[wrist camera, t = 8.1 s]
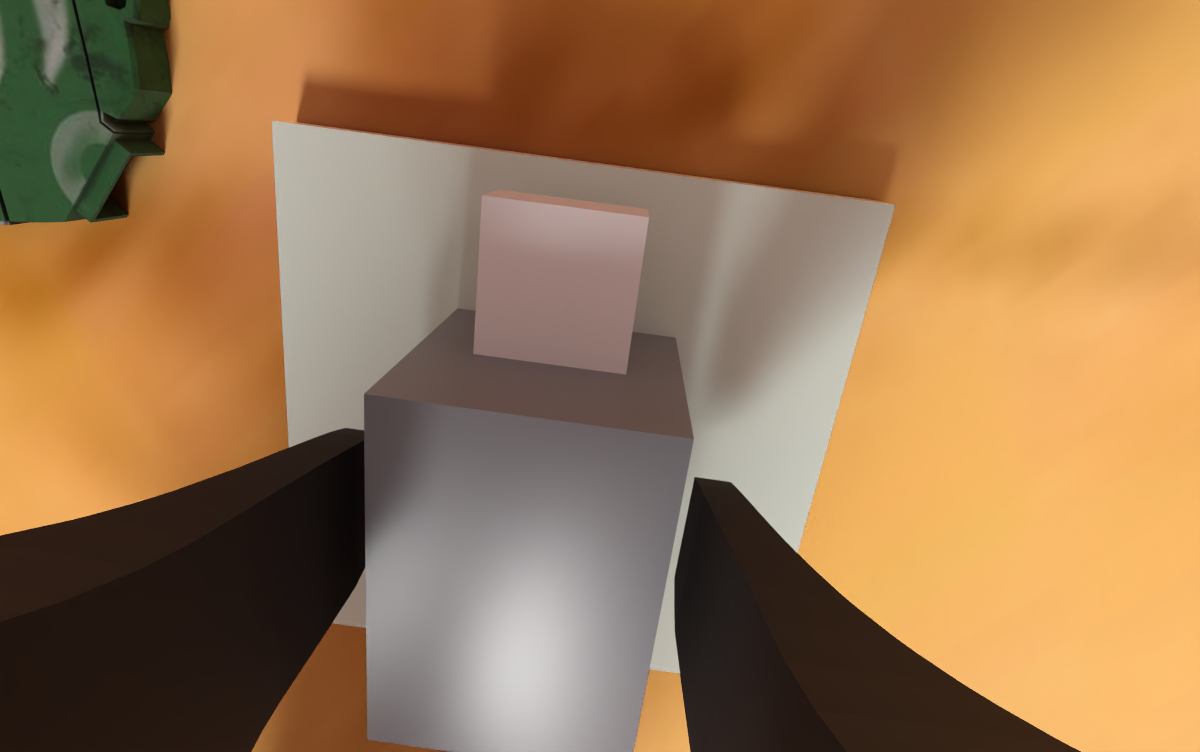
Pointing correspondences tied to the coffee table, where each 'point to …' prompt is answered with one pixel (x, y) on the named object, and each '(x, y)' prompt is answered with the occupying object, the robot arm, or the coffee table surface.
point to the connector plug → (525, 495)
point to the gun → (76, 103)
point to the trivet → (664, 304)
